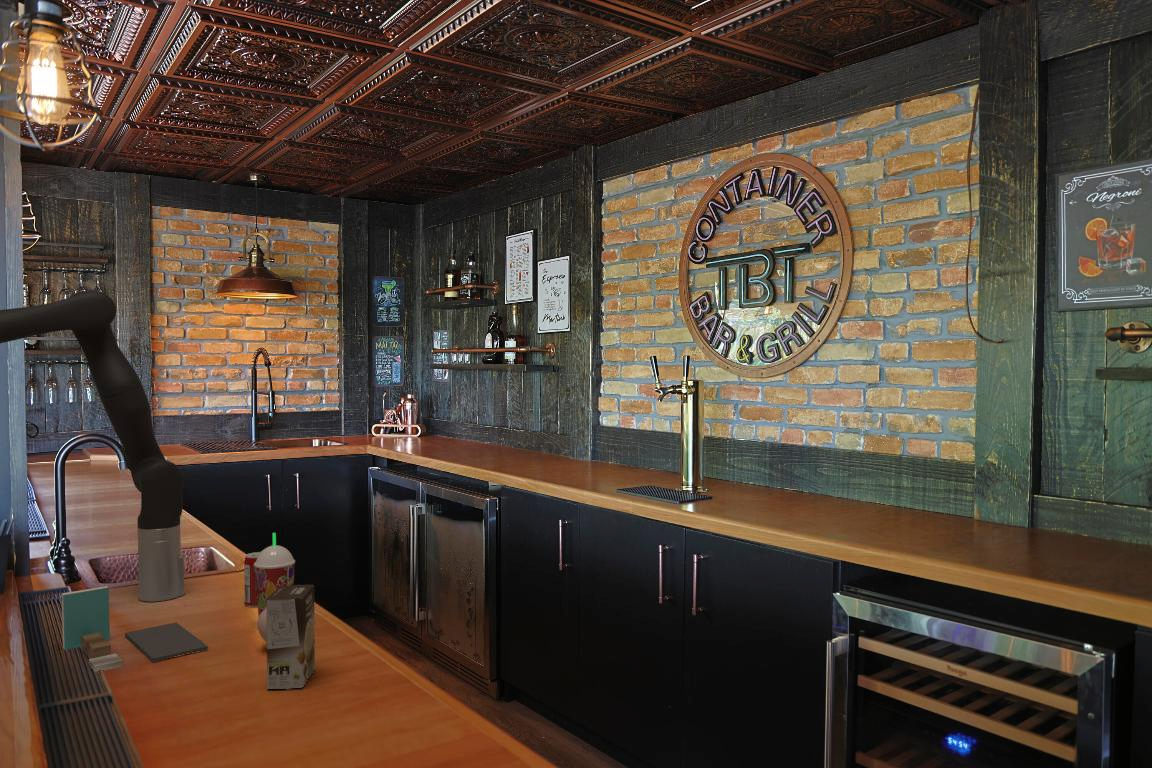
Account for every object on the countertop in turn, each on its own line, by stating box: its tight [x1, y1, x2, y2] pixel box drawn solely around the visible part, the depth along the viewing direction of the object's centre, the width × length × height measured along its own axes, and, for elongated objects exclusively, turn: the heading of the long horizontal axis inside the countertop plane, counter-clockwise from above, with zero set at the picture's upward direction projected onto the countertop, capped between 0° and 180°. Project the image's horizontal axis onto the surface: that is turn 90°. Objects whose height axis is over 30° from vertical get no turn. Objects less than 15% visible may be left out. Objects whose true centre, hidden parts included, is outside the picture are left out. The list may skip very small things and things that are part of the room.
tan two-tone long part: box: [81, 632, 124, 673], centre depth 160 cm, size 15×5×3 cm, turn 42°
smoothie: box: [254, 532, 296, 619], centre depth 179 cm, size 8×8×20 cm
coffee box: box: [266, 584, 316, 690], centre depth 149 cm, size 9×6×16 cm
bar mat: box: [124, 622, 209, 664], centre depth 169 cm, size 10×20×1 cm, turn 42°
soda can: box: [243, 551, 262, 608], centre depth 195 cm, size 6×6×12 cm
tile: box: [61, 585, 111, 651], centre depth 168 cm, size 8×2×11 cm, turn 132°
